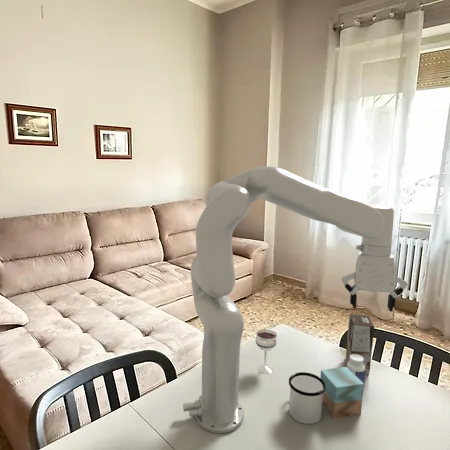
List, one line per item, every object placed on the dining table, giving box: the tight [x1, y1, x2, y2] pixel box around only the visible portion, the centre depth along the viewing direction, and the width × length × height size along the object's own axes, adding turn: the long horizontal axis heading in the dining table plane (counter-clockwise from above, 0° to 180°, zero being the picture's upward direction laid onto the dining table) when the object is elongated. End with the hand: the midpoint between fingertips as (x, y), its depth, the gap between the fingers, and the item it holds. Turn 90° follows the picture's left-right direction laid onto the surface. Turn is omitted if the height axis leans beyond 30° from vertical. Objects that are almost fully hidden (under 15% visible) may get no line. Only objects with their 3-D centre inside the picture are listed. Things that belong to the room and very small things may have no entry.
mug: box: [288, 371, 326, 425], centre depth 93 cm, size 12×10×9 cm
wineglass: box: [255, 329, 278, 374], centre depth 112 cm, size 7×7×12 cm
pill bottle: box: [346, 354, 366, 384], centre depth 105 cm, size 5×5×9 cm
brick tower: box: [319, 366, 365, 419], centre depth 95 cm, size 8×8×9 cm
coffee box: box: [345, 313, 375, 375], centre depth 115 cm, size 9×6×16 cm
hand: (371, 308), depth 100 cm, fingers open, 9 cm apart
